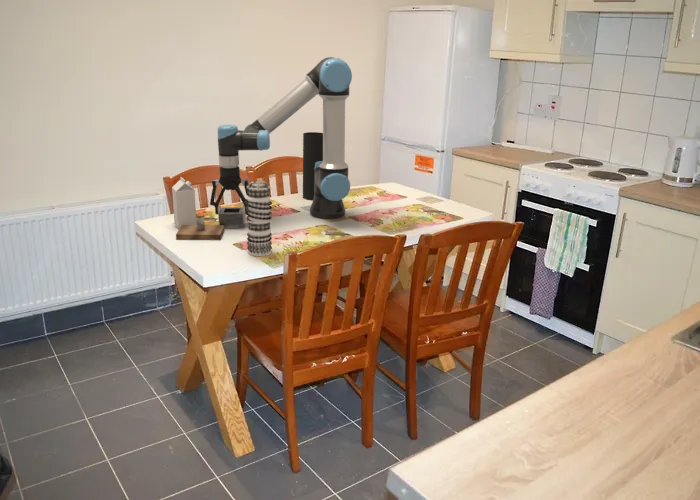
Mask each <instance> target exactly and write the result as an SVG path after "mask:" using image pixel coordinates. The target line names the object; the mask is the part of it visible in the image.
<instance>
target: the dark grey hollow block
mask: <svg viewBox="0 0 700 500" xmlns="http://www.w3.org/2000/svg"><path fill="white" fill-rule="evenodd" d="M244 224H245V223H244V221H243V206H242V207H240V206H239V207H231V206H230V207H221V210H220V212H219V220H218V225H224V227H243V226H244Z"/></svg>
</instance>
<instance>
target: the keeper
mask: <svg viewBox="0 0 700 500" xmlns="http://www.w3.org/2000/svg"><path fill="white" fill-rule="evenodd" d="M224 232H225V226H224V225H219V224H205V214H204V213H202V212H200V213H196V225H182V226H181V227H180V229H178V231H177V232H176V234H175V239H176V240H177V241H178V240H180V241H181V240H183V241H184V240H185V241H221V239H222V237H223V234H224Z"/></svg>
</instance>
